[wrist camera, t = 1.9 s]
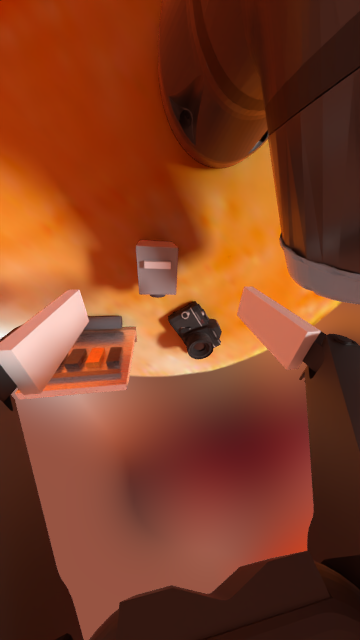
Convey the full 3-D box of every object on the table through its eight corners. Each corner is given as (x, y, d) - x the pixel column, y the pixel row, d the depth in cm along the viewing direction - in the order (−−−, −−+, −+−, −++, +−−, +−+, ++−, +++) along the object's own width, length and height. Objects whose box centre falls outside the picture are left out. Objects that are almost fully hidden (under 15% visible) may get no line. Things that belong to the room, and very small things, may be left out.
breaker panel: (65, 324, 30) (10, 388, 19) (135, 322, 33) (125, 379, 21) (72, 341, 33) (26, 408, 21) (136, 339, 35) (128, 398, 23)
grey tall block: (140, 239, 25) (135, 246, 18) (171, 241, 26) (179, 248, 19) (142, 283, 29) (139, 303, 21) (170, 283, 29) (176, 302, 22)
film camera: (160, 328, 28) (218, 317, 25) (167, 304, 34) (214, 294, 31) (182, 371, 35) (228, 366, 33) (184, 346, 41) (223, 340, 39)
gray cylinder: (69, 325, 31) (63, 332, 29) (65, 315, 29) (58, 321, 27) (122, 324, 32) (120, 331, 30) (121, 314, 31) (119, 320, 29)
